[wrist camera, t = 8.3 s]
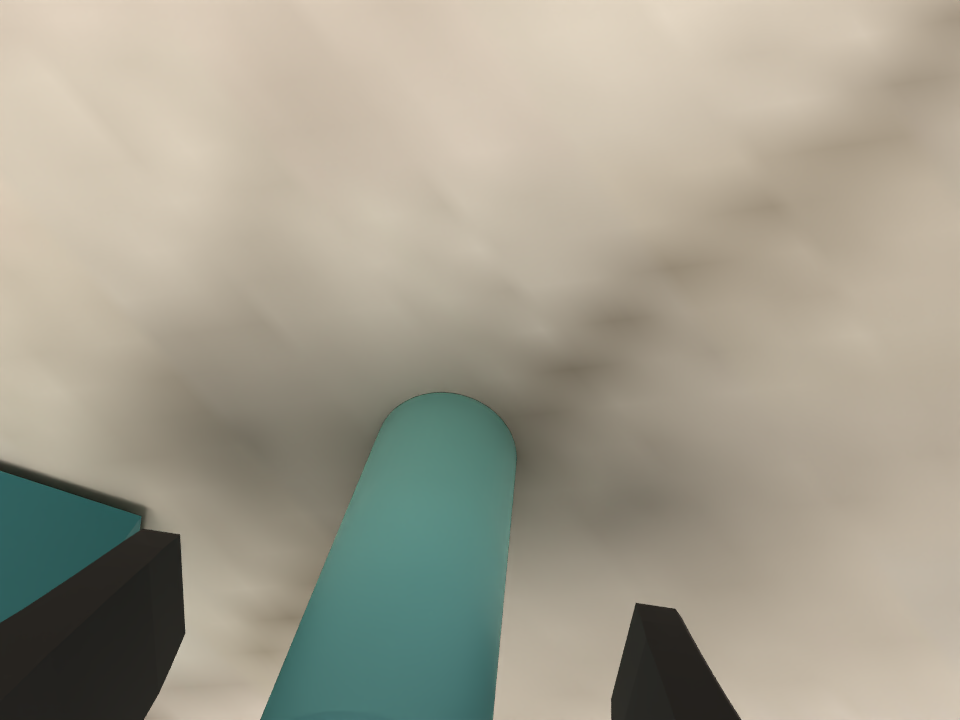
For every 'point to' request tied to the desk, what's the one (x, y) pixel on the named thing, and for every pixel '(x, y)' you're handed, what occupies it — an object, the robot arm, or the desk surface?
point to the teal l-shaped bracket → (50, 538)
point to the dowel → (411, 576)
